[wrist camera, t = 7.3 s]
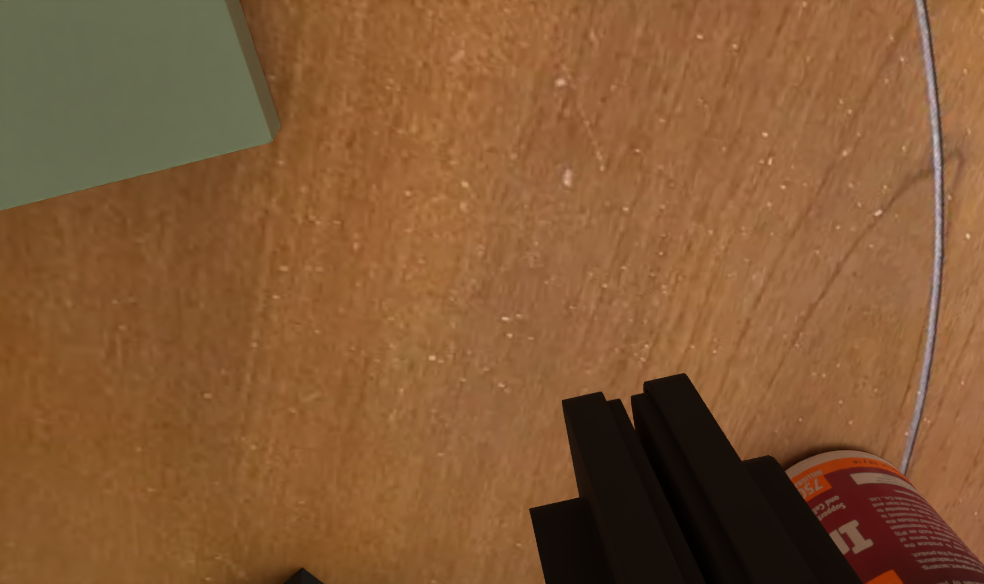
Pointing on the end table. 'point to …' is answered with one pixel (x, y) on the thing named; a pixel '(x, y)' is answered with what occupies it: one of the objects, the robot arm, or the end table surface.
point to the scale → (123, 91)
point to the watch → (303, 578)
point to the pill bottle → (882, 521)
